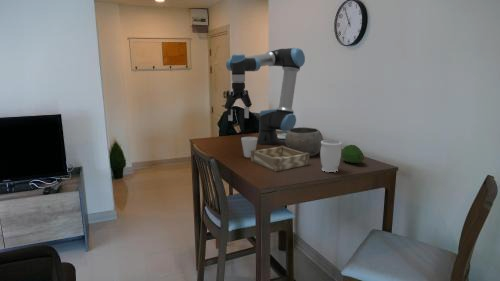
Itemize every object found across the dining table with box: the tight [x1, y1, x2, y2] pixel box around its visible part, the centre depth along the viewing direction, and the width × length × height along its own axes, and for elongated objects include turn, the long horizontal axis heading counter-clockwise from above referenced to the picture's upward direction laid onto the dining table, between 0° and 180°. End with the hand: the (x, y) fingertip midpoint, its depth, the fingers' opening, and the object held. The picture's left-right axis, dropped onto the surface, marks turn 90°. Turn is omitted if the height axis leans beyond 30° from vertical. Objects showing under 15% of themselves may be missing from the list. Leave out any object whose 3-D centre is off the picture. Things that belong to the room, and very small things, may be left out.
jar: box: [319, 139, 343, 173], centre depth 175 cm, size 11×10×15 cm
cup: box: [240, 136, 258, 159], centre depth 203 cm, size 10×10×11 cm
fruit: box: [341, 144, 365, 164], centre depth 190 cm, size 15×10×10 cm, turn 15°
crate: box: [250, 145, 310, 172], centre depth 189 cm, size 23×23×6 cm
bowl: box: [284, 127, 324, 158], centre depth 210 cm, size 23×23×15 cm
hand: (238, 119), depth 199 cm, fingers open, 13 cm apart
